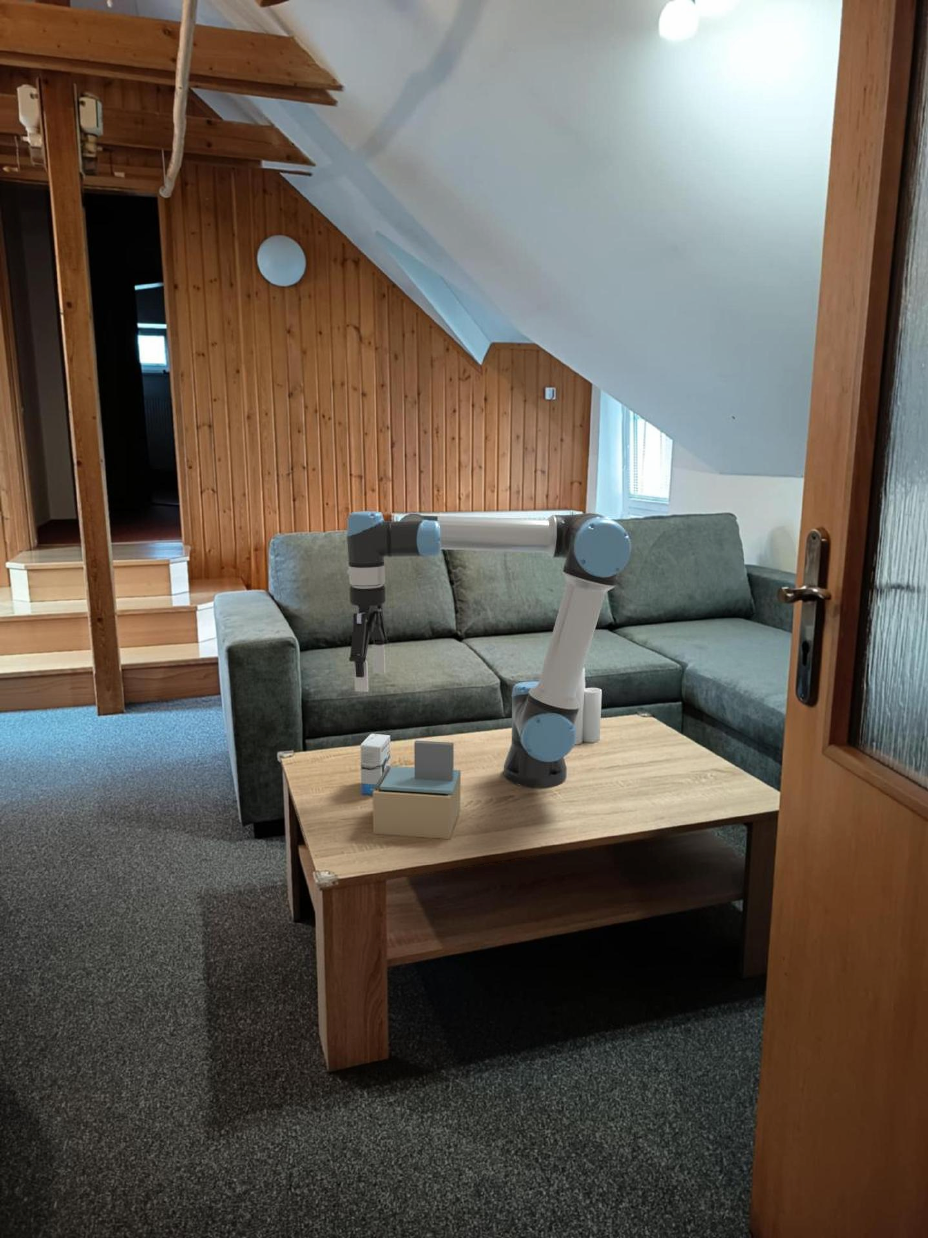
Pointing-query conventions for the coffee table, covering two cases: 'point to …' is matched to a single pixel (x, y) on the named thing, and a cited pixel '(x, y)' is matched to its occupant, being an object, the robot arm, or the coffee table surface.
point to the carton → (416, 813)
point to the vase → (588, 713)
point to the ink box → (374, 760)
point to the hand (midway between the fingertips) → (370, 682)
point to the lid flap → (424, 770)
